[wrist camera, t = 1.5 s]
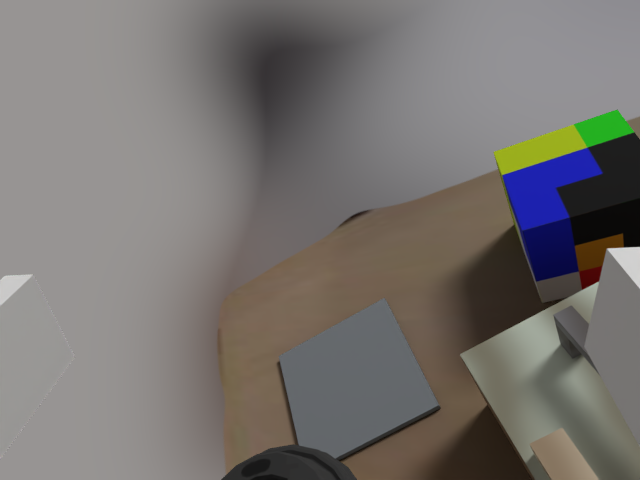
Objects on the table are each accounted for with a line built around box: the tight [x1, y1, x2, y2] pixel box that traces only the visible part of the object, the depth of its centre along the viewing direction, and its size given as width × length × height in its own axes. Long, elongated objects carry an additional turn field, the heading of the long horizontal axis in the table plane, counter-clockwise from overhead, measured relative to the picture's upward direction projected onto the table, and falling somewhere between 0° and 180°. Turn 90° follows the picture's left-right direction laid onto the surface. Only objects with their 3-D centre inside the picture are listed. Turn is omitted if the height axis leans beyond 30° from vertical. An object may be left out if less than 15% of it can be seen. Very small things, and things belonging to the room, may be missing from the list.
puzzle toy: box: [494, 110, 640, 303], centre depth 40 cm, size 10×10×10 cm
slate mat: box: [279, 298, 440, 461], centre depth 45 cm, size 13×13×1 cm
